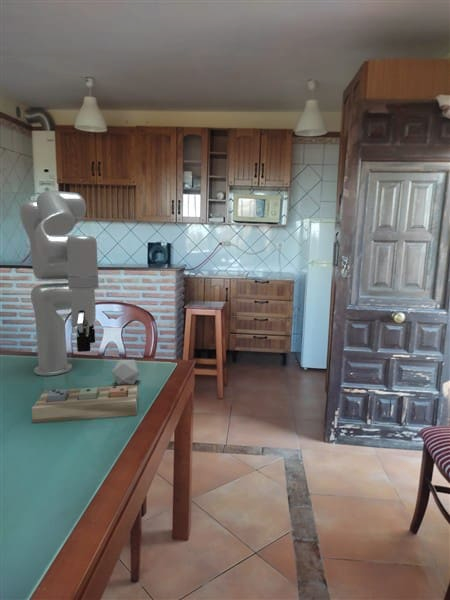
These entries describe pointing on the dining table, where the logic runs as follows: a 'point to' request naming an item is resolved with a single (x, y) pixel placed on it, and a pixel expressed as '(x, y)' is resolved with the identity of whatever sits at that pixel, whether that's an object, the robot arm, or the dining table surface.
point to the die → (126, 372)
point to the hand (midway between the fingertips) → (86, 346)
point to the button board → (85, 406)
